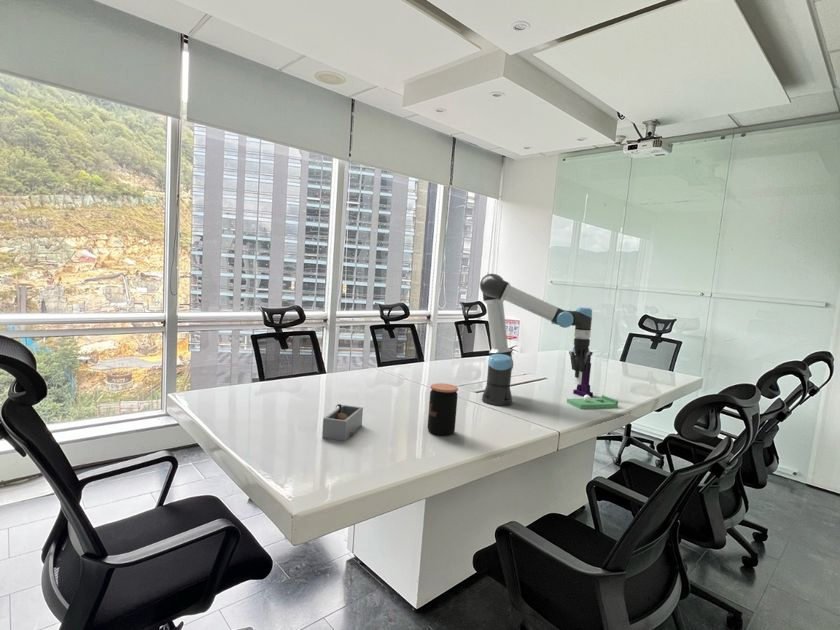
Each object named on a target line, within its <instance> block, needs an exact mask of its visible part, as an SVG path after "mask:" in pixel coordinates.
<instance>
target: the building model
mask: <svg viewBox="0 0 840 630" xmlns="http://www.w3.org/2000/svg"><path fill="white" fill-rule="evenodd" d="M591 359H592V356H591V357H590V361H589V364H588V368H587V370H585V372H583V377H582V380H581V385H578V384H576V389H573V392H572V393H573V394H574V395H576V396H580V397H584V396H585V395H589V396H590V397H591V398H592V397H593V398H594V392H592V391H591V384H590V377H591V367H592V362H591Z"/></svg>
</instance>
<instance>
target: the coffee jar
mask: <svg viewBox="0 0 840 630" xmlns="http://www.w3.org/2000/svg"><path fill="white" fill-rule="evenodd" d="M430 389H431V390H430V392H429V403H428V404H429V405H428V416H427V430H428V432H429V433H430V434H432V435H434V436H439V437H449V436H452V435H453V434H454V433H455V430H456V420H457V419H456V418H457V406H458V397H459V396H458V391H459V387H458V386H457V385H453V384H451V383H450V384H449V383H440V382H439V383H433V384H431V385H430Z"/></svg>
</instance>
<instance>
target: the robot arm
mask: <svg viewBox="0 0 840 630" xmlns="http://www.w3.org/2000/svg"><path fill="white" fill-rule="evenodd" d="M479 282H480V283H479V288H480V291H481V293H482V298H483V301H482V302H484V303H485V304H486V309H487V316H488V317H487V320H488V328H489V338H490V345H491V346H490V347H491V349H489V351H488V355H489V357H488V360H487V361H488V362H487V363H488V364H487V365H488V367H487V376H486V386H485V389H484V391H483V393H482V396H481V401H482V402H483V403H485V404H488V405H492V406H499V407H500V406H501V407H503V406H504V407H505V406H507V407H508V406H511V405H512V404H513V396H512V392H511V391H512V390H511V383H512V382H511V381H512V380H511V379H512V371H513V368H514V359H513V353H512V349H511V348H509V345H508V336H507V326H506V319H505V318H506V317H505V307H504V301H506V302H508V303H510V304H513V305H515V306H517V307H519V308H521V309H523V310H526V311H528V312H530V313H531V314H534V315H537V316H538V317H541V318H542V319H545V320H547V321H550V322H551V325H557V326H559V327H561V328H563V329H564V328H570V327H571V326H572V327H574V326H575V328H574V335H573V337H574V338H573V348H572V350H569V351H568V354H569V356H570V363H571V369H572V370H573V371H574V378H575V382H574V383H575V384H576V385H577V384H578V385H581V380H582V377H583V372H585V370H587V368H588V364H589V361H590V357H591V358H592V355H593V352H592V351H590V349H589V347H590V342H591V339H590V338H591V333H592V332H591V330H592V320H593V309H592V308H590V307H580V306H579V307H576V310H566V309H563V308H559V307H558V306H556V305H555V304H554V305H553V304H551V303H548V302H547V301H545V300H543V299H540V298H538V297H536V296H533V295H531V294H529V293H527V292H525V291H523V290H521V289H518V288H516V287H514V286H512V285H511V284H510V282H508V281H506V280H504V279H503V278H502V276H501V275H499V274H496V273H489V274H486V275H484V276H483V277H482V278H481V280H480V281H479ZM590 362H591V361H590Z"/></svg>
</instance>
